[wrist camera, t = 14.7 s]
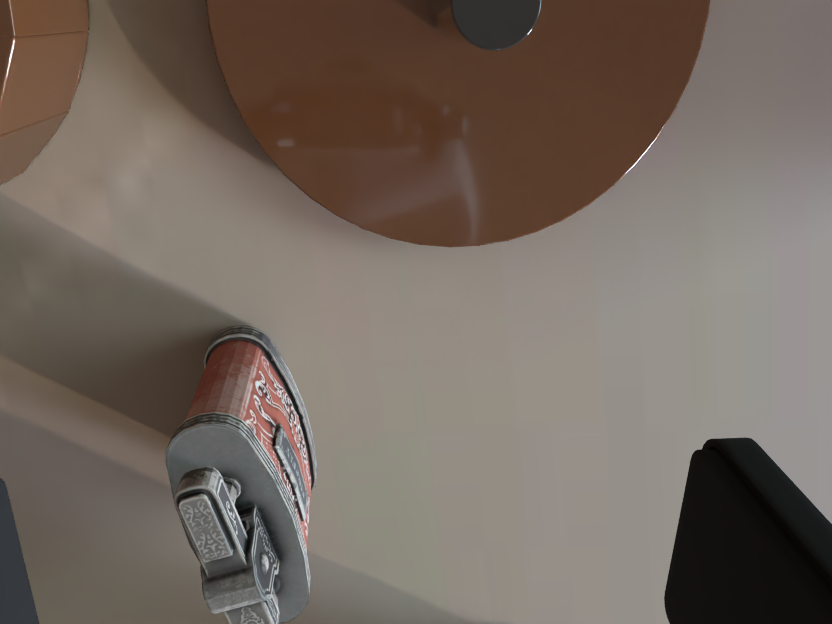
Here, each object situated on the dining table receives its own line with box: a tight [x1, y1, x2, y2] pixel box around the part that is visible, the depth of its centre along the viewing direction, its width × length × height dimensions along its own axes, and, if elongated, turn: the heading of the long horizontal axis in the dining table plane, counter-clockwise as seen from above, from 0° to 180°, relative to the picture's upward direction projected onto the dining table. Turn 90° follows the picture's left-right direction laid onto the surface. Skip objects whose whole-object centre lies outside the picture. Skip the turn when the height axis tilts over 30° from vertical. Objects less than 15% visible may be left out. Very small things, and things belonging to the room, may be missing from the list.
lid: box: [206, 0, 710, 247], centre depth 22 cm, size 17×17×7 cm
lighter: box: [166, 326, 317, 624], centre depth 26 cm, size 8×3×10 cm, turn 14°
